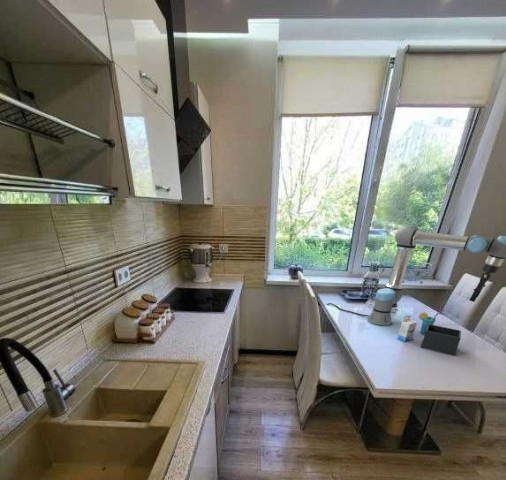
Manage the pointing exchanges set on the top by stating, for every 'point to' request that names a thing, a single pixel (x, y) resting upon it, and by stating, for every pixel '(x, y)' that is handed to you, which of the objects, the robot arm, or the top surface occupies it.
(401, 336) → the ink box
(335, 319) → the top surface
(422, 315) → the cup
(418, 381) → the top surface
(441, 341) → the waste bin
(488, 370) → the top surface
